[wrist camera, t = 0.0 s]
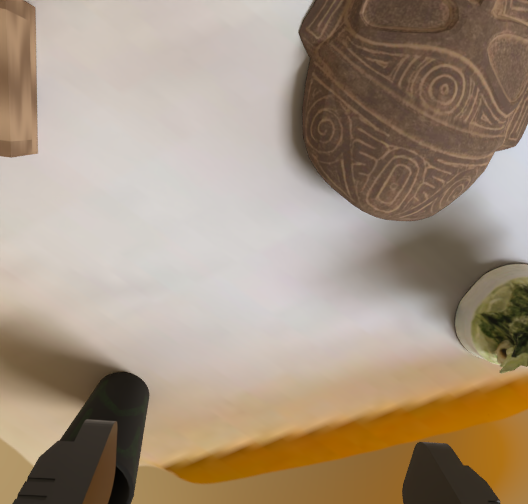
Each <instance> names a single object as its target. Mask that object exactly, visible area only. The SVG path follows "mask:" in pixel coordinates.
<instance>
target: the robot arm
mask: <svg viewBox="0 0 528 504" xmlns="http://www.w3.org/2000/svg"><path fill="white" fill-rule="evenodd" d="M116 447H117V422H116V421H104V420H88V419H87V420H85V421H84V423H83V425H82V427H81V429H80V431H79V433H78V435H77V437H76V439H75V441H74V442H72V441H57V442H56V443H55V444H54V445H53V446H52V447H50V448H49V449H48V450H47V451H46V452H45V453H44V454H42V455H41V456H40V457H39V459H38V460H37V462H36V464H35V466H34V467H33V469H32V471H31V473H30V475H29V476H28V479H27V482H25V483H24V485H23V487H22V488H21V490H20V492H19V493H18V497H17V499H15V500H14V502H13V504H108V502H109V498H110V495H111V491H112V487H113V482H114V476H115V468H116ZM402 494H403V495H402V496H403V503H404V504H500V500H499V499H498V497H497V496H496V495H495V493H494V492H493V490H492V489H491V488H490V486H489V485H488V483H487V482H486V481H485V480H484V479H483V478H481V477H480V476H479V475H478V474H477V473H476V472H475V471H473V470H472V469H471V468H470V467H469V466H464V465H463V464H462V463H461V461H460V460H459V458H458V457H457V455H456V454H455V452H454V451H453V449H452V448H451V447H450V446H449V445H448V444H444V443H429V442H419V443H417V444H416V446H415V448H414V451H413V455H412V458H411V461H410V464H409V467H408V471H407V474H406V477H405V480H404V483H403V490H402Z"/></svg>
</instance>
